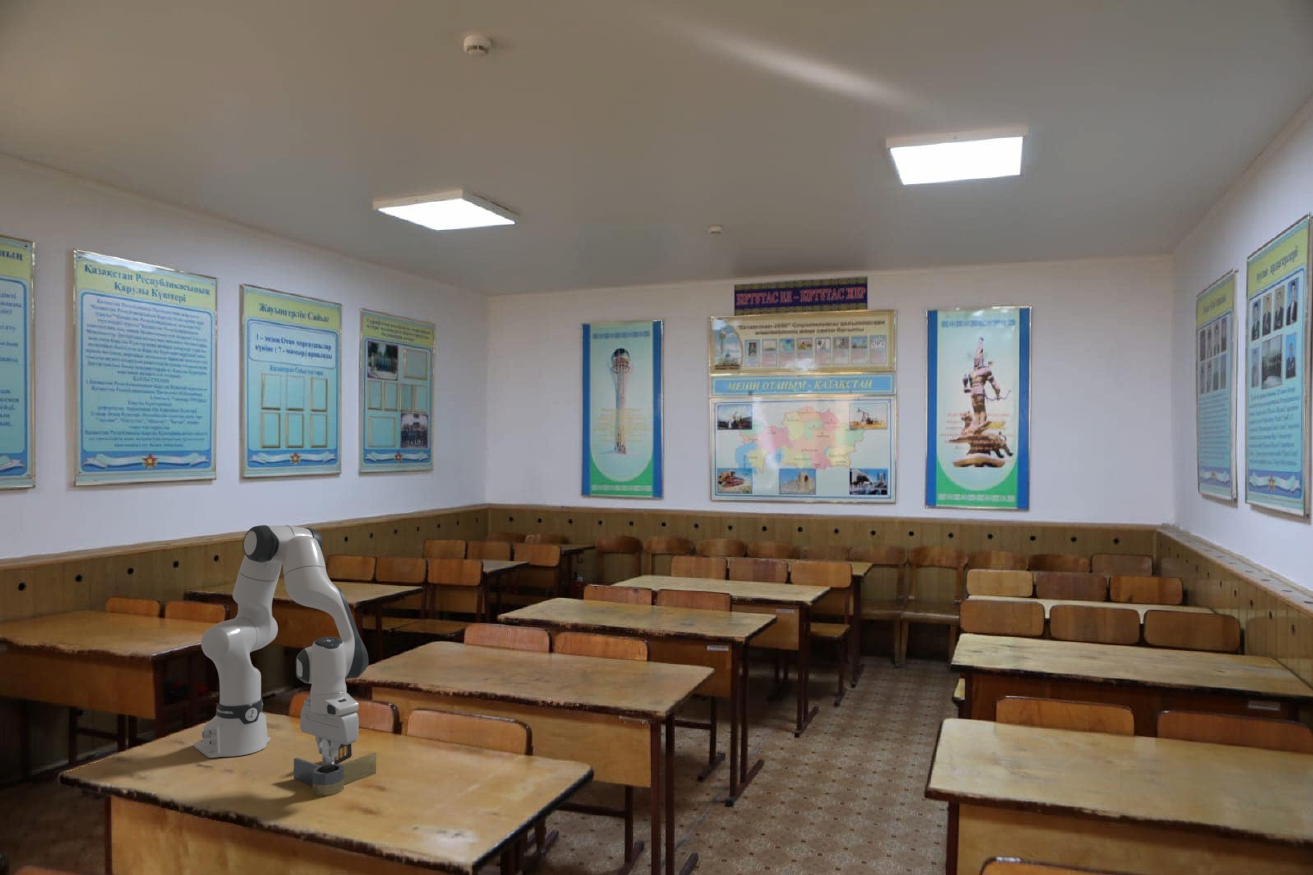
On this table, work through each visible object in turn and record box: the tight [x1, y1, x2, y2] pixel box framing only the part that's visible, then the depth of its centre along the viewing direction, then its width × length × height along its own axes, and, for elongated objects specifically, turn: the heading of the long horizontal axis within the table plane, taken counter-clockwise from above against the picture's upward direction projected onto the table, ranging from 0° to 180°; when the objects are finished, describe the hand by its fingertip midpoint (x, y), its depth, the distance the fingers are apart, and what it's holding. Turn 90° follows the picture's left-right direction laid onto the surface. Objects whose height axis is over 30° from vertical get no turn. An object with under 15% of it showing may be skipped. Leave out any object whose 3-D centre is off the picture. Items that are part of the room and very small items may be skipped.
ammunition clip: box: [334, 743, 353, 764], centre depth 243 cm, size 11×2×12 cm, turn 163°
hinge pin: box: [321, 738, 334, 773], centre depth 223 cm, size 3×3×12 cm
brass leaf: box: [312, 752, 377, 797], centre depth 227 cm, size 7×18×6 cm, turn 146°
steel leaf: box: [293, 757, 344, 787], centre depth 226 cm, size 18×7×6 cm, turn 56°
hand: (328, 754), depth 223 cm, fingers closed on hinge pin, 3 cm apart
